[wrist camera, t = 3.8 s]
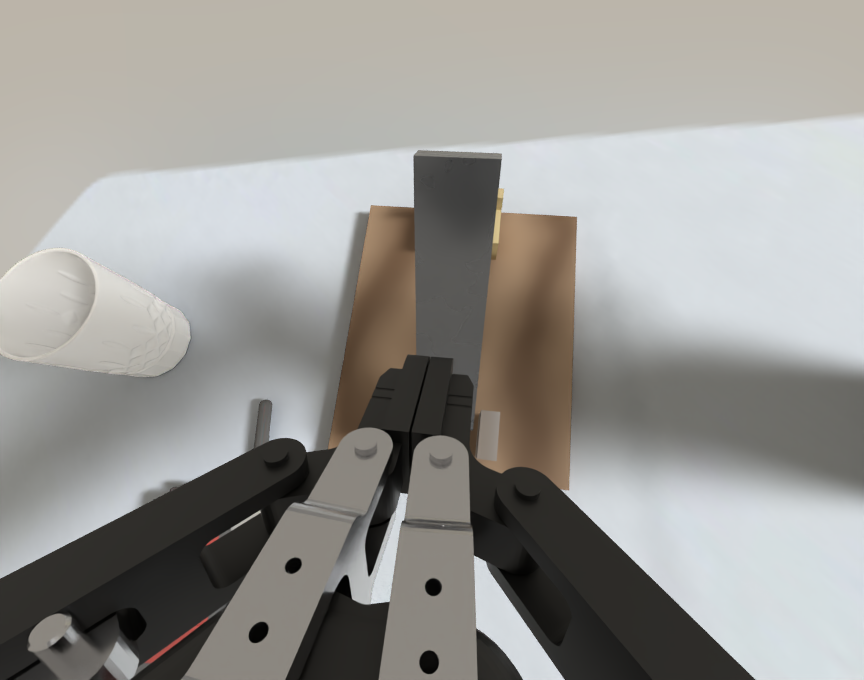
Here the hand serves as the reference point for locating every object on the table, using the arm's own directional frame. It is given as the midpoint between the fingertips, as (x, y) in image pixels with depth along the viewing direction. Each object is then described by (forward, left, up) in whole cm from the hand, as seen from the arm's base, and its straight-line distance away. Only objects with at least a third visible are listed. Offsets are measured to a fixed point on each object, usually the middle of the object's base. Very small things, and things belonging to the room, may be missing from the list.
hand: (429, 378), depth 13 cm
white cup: (+27, -4, -19) cm, 34 cm away
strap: (0, -5, -9) cm, 10 cm away
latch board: (0, -7, -19) cm, 20 cm away
